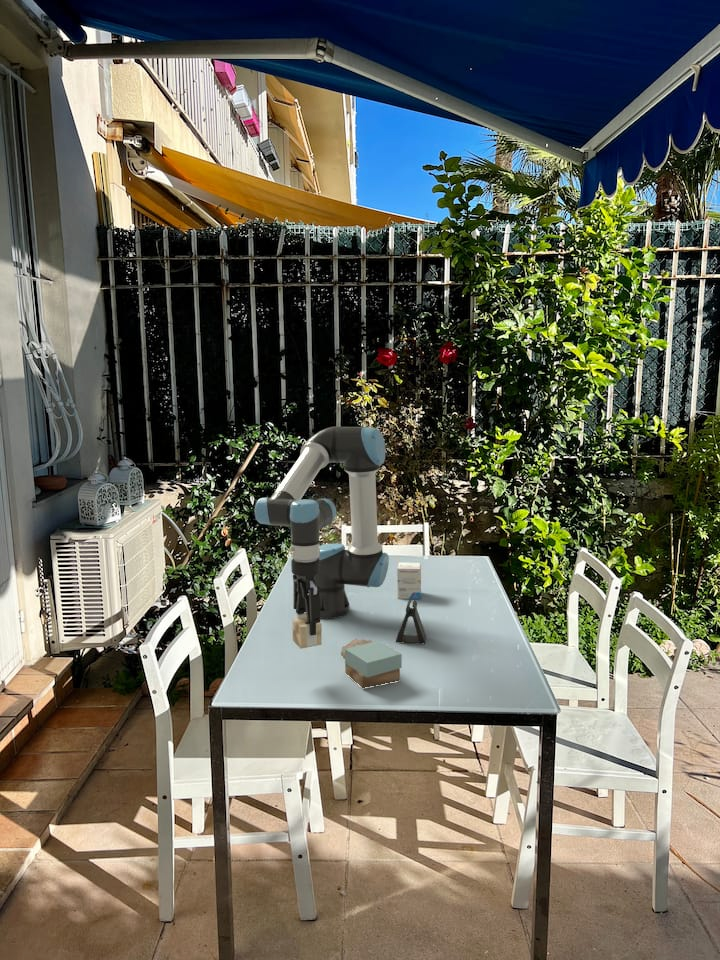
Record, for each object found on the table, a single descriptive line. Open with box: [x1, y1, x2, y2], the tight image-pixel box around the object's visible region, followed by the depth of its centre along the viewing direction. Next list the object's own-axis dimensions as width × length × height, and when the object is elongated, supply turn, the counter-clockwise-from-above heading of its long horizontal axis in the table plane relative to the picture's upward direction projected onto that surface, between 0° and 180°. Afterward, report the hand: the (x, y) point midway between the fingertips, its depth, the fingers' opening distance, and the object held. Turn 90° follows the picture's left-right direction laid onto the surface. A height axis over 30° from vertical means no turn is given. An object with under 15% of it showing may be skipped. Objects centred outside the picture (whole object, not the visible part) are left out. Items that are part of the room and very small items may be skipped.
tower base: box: [344, 662, 401, 688], centre depth 193 cm, size 11×11×4 cm
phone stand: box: [395, 599, 427, 644], centre depth 219 cm, size 9×6×12 cm, turn 80°
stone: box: [340, 638, 373, 659], centre depth 211 cm, size 12×12×3 cm
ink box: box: [396, 562, 422, 600], centre depth 262 cm, size 9×8×12 cm
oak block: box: [292, 617, 323, 649], centre depth 192 cm, size 6×6×6 cm
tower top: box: [344, 640, 403, 678], centre depth 192 cm, size 11×11×4 cm
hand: (307, 640), depth 193 cm, fingers closed on oak block, 6 cm apart
